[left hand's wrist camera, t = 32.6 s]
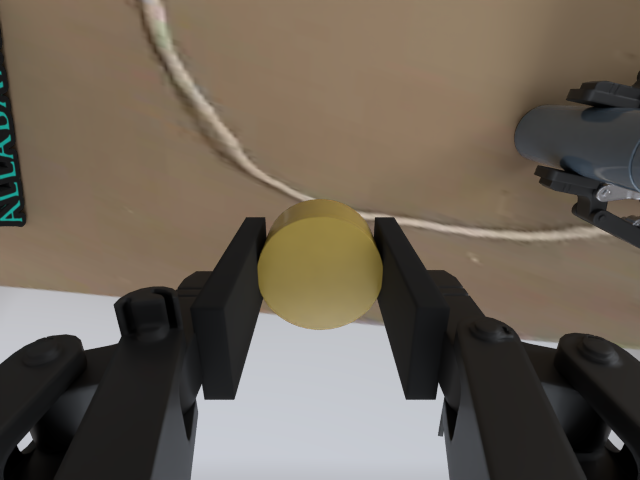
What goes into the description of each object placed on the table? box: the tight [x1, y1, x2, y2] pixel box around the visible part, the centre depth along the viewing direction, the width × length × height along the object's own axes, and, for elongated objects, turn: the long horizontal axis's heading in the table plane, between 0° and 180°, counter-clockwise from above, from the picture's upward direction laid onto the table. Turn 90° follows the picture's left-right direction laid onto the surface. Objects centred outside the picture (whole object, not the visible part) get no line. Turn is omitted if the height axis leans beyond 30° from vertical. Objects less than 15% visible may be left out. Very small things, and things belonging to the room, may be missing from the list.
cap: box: [257, 199, 383, 330], centre depth 13 cm, size 4×4×2 cm
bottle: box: [515, 105, 640, 194], centre depth 23 cm, size 5×5×18 cm
